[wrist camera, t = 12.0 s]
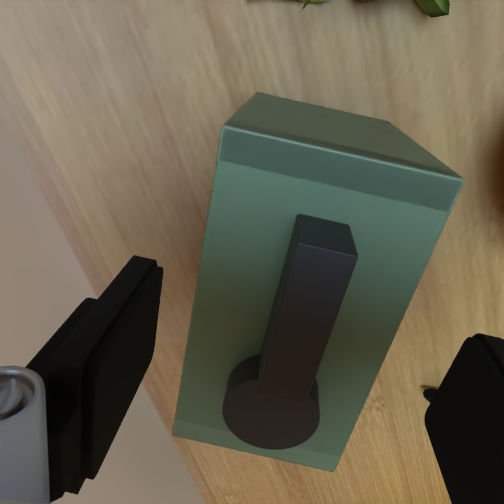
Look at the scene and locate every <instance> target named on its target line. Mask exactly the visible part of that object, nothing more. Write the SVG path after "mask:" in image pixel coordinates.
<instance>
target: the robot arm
mask: <svg viewBox="0 0 504 504" xmlns="http://www.w3.org/2000/svg"><path fill="white" fill-rule="evenodd" d="M162 278H163V267H159V266H157V261H156V260H153V259H149V258H144V257H140V256H136V255H134V256H133V257H132V258H131V259H130V260H129V262H128V263H127V264H126V265H125V266H124V268H123V269H122V270H121V271H120V273H119V274H118V275H117V276H116V277H115V279H114V280H113V281H112V282H111V284H110V285H109V286H108V287H107V288H106V290H105V291H104V292H103V293H102V295H101V296H100V297H99V298H98V299H93V298H86V299H85V300H84V301H83V302H82V303H81V304H80V305H79V306H78V307H77V308H76V310H75V311H74V312H73V313H72V314H71V315H70V317H69V318H68V319H67V320H66V321H65V322H64V323H63V325H62V326H61V327H60V328H59V329H58V330H57V332H56V333H55V334H54V335H53V336H52V337H51V338H50V339H49V341H48V342H47V343H46V344H45V345H44V346H43V348H42V349H41V350H40V351H39V352H38V353H37V354H36V356H35V357H34V358H33V359H32V360H31V361H30V363H29V364H28V365H27V366H26V367H25V368H24V367H19V366H0V504H50V503H51V502H52V501H55V500H57V499H58V498H61V497H62V496H63V495H64V493H65V492H69V493H74V494H78V493H79V491H80V489H81V487H82V485H83V482H84V481H85V479H86V478H88V479H94V478H95V476H96V475H97V473H98V471H99V469H100V467H101V465H102V462H103V461H104V458H105V456H106V454H107V452H108V450H109V448H110V446H111V444H112V442H113V440H114V438H115V435H116V433H117V431H118V429H119V427H120V425H121V423H122V421H123V418H124V417H125V415H126V412H127V410H128V408H129V406H130V404H131V402H132V400H133V398H134V396H135V394H136V392H137V389H138V387H139V385H140V383H141V381H142V379H143V377H144V375H145V373H146V371H147V369H148V367H149V364H150V362H151V359H152V356H153V352H154V347H155V338H156V330H157V321H158V312H159V304H160V295H161V287H162ZM425 426H426V429H427V432H428V435H429V438H430V441H431V444H432V447H433V450H434V453H435V456H436V459H437V462H438V464H439V467H440V470H441V473H442V476H443V479H444V482H445V485H446V488H447V491H448V494H449V497H450V500H451V503H452V504H504V340H503V339H501V338H498V337H493V336H489V335H484V334H480V333H478V334H475V335H474V336H473V337H468V338H467V339H466V340H465V341H464V343H463V345H462V346H461V348H460V350H459V352H458V354H457V356H456V357H455V359H454V361H453V363H452V365H451V367H450V368H449V370H448V372H447V374H446V376H445V377H444V379H443V381H442V383H441V385H440V387H439V388H438V390H437V392H436V394H435V396H434V398H433V399H432V401H431V403H430V405H429V407H428V409H427V411H426V413H425Z"/></svg>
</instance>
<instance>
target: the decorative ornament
mask: <svg viewBox="0 0 504 504" xmlns="http://www.w3.org/2000/svg"><path fill="white" fill-rule="evenodd" d="M300 1H306V2H305V4H304V7H305V6H306V5H307V4H308V3H309V2H317V3H318V2H323V1H326V0H300ZM358 1H360V2H369V1H373V0H358ZM416 2H417V3H418V4H419V6H420V7H421V8H422V10H423V11H424V12H425V14H427V15H428V16H430V17H431V18H433V17H438V16H444V15H449V5H450V4H449V0H416ZM304 7H303V9H304ZM303 9H302V10H303Z"/></svg>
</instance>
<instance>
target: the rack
mask: <svg viewBox="0 0 504 504" xmlns="http://www.w3.org/2000/svg"><path fill="white" fill-rule="evenodd" d="M463 183H464V179H463V178H462V177H461V176H459V175H458V174H457V173H455V172H454V171H453V170H451V169H450V168H449V167H448V166H446V165H445V164H444V163H442V162H441V161H440V160H438V159H437V158H436V157H434V156H433V155H432V154H430V153H429V152H428V151H426V150H425V149H424V148H423V147H421V146H420V145H419V144H417V143H416V142H415V141H413V140H412V139H411V138H409V137H408V136H407V135H405V134H404V133H403V132H401V131H400V130H399V129H398V128H396V127H395V126H394V125H392V124H391V123H390V122H388V121H383V120H379V119H374V118H370V117H365V116H361V115H356V114H352V113H348V112H343V111H339V110H334V109H330V108H325V107H321V106H316V105H312V104H308V103H303V102H299V101H294V100H290V99H285V98H281V97H276V96H272V95H267V94H263V93H259V92H257V93H256V94H255V95H254V96H253V97H252V98H251V99H250V100H249V101H248V102H247V103H245V104H244V105H243V106H242V107H241V108H240V109H239V110H238V111H237V112H236V113H235V114H234V115H233V116H232V117H231V118H230V119H229V120H228V121H227V122H225V123H224V124H223V126H222V129H221V136H220V142H219V148H218V154H217V161H216V167H215V173H214V179H213V186H212V192H211V198H210V204H209V210H208V216H207V223H206V229H205V235H204V241H203V247H202V253H201V260H200V266H199V272H198V278H197V284H196V290H195V297H194V303H193V309H192V315H191V321H190V327H189V334H188V340H187V346H186V352H185V358H184V364H183V371H182V377H181V383H180V389H179V395H178V401H177V408H176V414H175V419H174V426H173V432H172V435H173V436H177V437H182V438H186V439H190V440H195V441H199V442H204V443H208V444H212V445H217V446H221V447H226V448H230V449H234V450H239V451H243V452H247V453H252V454H256V455H261V456H265V457H269V458H274V459H278V460H283V461H287V462H291V463H296V464H300V465H304V466H309V467H313V468H318V469H322V470H326V471H331V472H334V471H335V469H336V467H337V464H338V462H339V460H340V458H341V455H342V453H343V450H344V448H345V446H346V444H347V442H348V439H349V437H350V435H351V433H352V430H353V428H354V426H355V424H356V421H357V419H358V417H359V415H360V412H361V410H362V408H363V406H364V404H365V401H366V399H367V397H368V395H369V392H370V390H371V388H372V386H373V383H374V381H375V379H376V377H377V374H378V372H379V370H380V368H381V366H382V363H383V361H384V359H385V357H386V354H387V352H388V350H389V348H390V345H391V343H392V341H393V339H394V337H395V334H396V332H397V330H398V328H399V325H400V323H401V321H402V319H403V316H404V314H405V312H406V310H407V307H408V305H409V303H410V301H411V299H412V296H413V294H414V292H415V290H416V287H417V285H418V283H419V281H420V278H421V276H422V274H423V272H424V270H425V267H426V265H427V263H428V261H429V258H430V256H431V254H432V252H433V249H434V247H435V245H436V243H437V240H438V238H439V236H440V234H441V232H442V229H443V227H444V225H445V223H446V220H447V218H448V216H449V214H450V212H451V210H452V208H453V206H454V203H455V201H456V199H457V197H458V194H459V192H460V190H461V188H462V186H463ZM298 214H303V215H307V216H312V217H316V218H321V219H325V220H330V221H334V222H339V223H343V224H347V225H349V226H350V229H351V232H352V236H353V239H354V243H355V246H356V249H357V253H358V259H357V262H356V265H355V268H354V271H353V273H352V276H351V279H350V282H349V285H348V287H347V290H346V293H345V296H344V299H343V301H342V304H341V307H340V310H339V313H338V315H337V318H336V321H335V324H334V327H333V329H332V332H331V335H330V338H329V341H328V343H327V346H326V349H325V352H324V355H323V357H322V360H321V363H320V366H319V369H318V371H317V374H316V377H315V379H316V381H317V384H318V390H319V406H320V422H319V426H318V428H317V430H316V432H315V433H314V434H313V435H312V437H311V438H310V439H308V440H307V441H306V442H304V443H302V444H300V445H298V446H296V447H292V448H288V449H282V450H269V449H262V448H258V447H254V446H252V445H249V444H247V443H245V442H243V441H242V440H240V439H239V438H237V437H236V436H235V435H234V434H233V433H232V432H231V431H230V430H229V429H228V427H227V425H226V424H225V421H224V419H223V414H222V406H223V401H224V396H225V392H226V387H227V382H228V379H229V376H230V374H231V372H232V371H233V369H234V368H235V367H236V366H237V365H238V364H239V363H241V362H242V361H244V360H245V359H247V358H250V357H252V356H256V355H261V349H262V345H263V341H264V337H265V334H266V330H267V326H268V322H269V319H270V315H271V311H272V307H273V304H274V300H275V296H276V292H277V289H278V285H279V281H280V278H281V274H282V270H283V266H284V263H285V259H286V255H287V251H288V248H289V244H290V240H291V236H292V233H293V229H294V225H295V221H296V218H297V215H298Z"/></svg>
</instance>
